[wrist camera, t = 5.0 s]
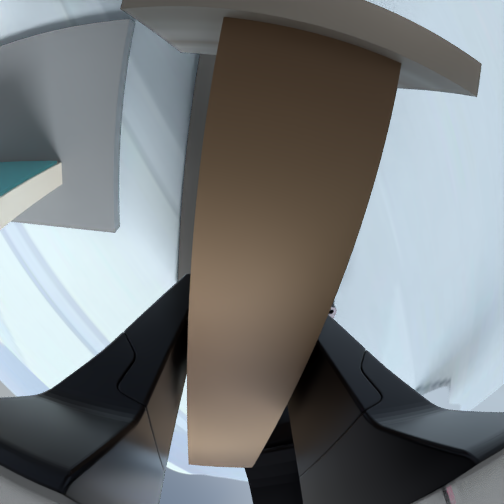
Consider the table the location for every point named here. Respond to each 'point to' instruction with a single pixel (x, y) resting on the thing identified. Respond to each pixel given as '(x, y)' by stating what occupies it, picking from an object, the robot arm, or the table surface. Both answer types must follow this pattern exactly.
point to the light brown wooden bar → (283, 187)
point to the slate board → (68, 118)
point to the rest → (194, 160)
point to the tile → (25, 185)
